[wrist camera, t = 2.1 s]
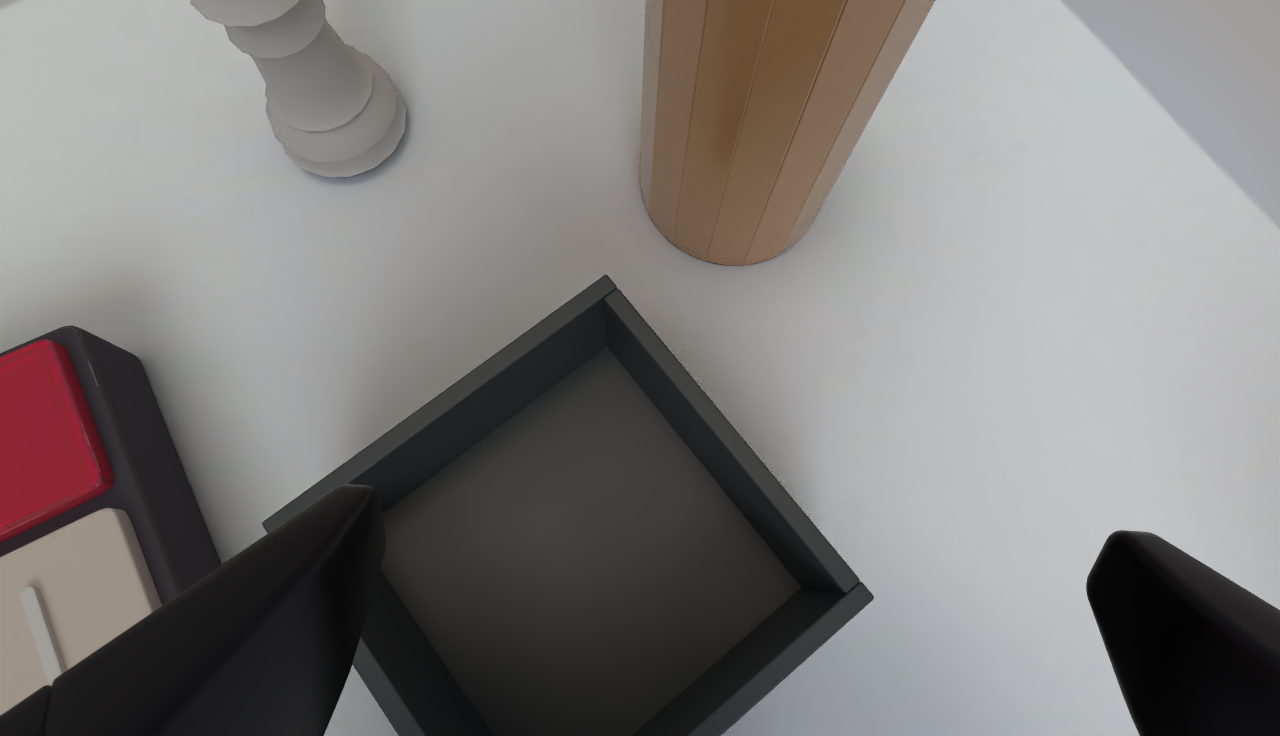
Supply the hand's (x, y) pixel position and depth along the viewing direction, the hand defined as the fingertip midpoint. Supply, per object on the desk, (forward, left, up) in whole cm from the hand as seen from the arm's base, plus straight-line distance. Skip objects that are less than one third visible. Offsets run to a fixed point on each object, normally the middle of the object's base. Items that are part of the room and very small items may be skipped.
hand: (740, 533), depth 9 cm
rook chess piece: (+19, 0, -14) cm, 23 cm away
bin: (+2, +2, -14) cm, 14 cm away
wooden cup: (+9, -10, -14) cm, 19 cm away
